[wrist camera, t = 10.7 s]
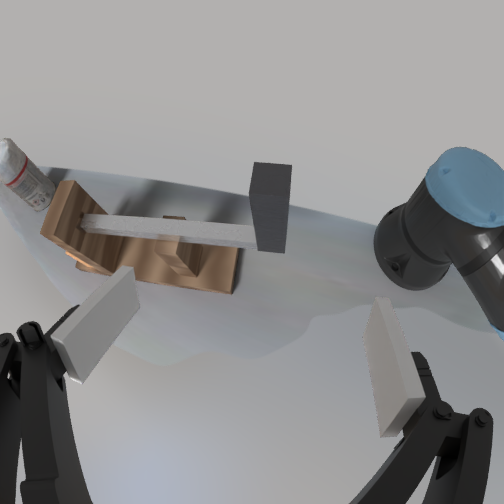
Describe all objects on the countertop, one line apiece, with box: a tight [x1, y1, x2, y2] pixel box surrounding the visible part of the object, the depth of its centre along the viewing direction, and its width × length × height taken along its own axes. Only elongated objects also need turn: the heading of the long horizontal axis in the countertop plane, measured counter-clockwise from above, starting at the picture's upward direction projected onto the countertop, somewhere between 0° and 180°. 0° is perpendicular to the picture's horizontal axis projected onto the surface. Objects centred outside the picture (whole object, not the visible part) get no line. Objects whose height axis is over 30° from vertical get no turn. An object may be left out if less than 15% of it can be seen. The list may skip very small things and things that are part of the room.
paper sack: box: [0, 138, 56, 211], centre depth 47 cm, size 8×8×20 cm
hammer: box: [80, 162, 292, 253], centre depth 29 cm, size 28×3×13 cm, turn 82°
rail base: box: [40, 180, 239, 294], centre depth 40 cm, size 30×8×19 cm, turn 82°
